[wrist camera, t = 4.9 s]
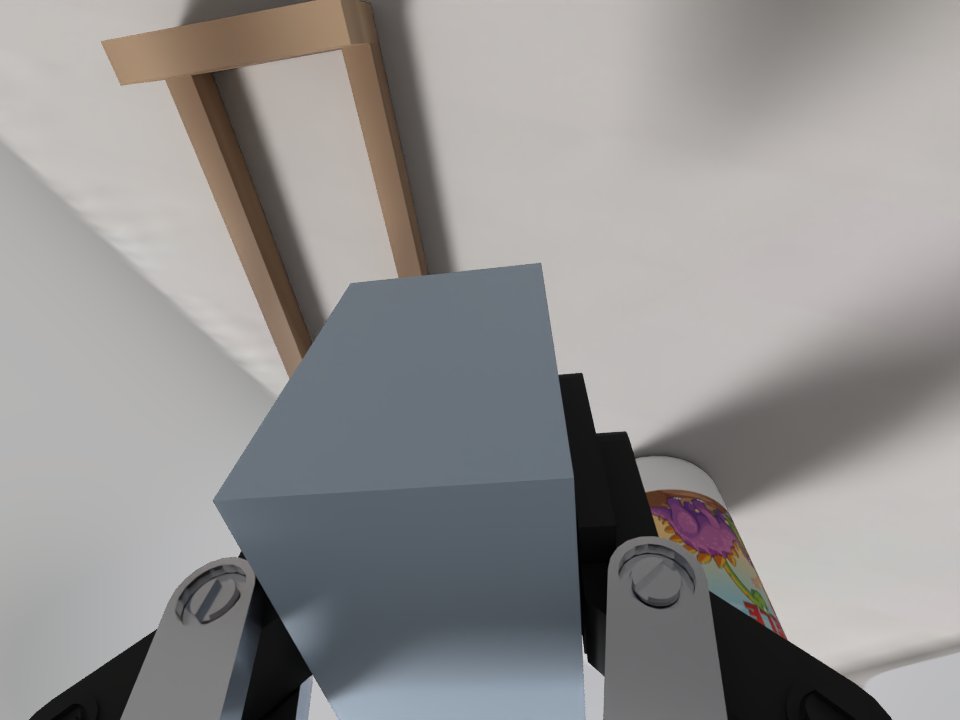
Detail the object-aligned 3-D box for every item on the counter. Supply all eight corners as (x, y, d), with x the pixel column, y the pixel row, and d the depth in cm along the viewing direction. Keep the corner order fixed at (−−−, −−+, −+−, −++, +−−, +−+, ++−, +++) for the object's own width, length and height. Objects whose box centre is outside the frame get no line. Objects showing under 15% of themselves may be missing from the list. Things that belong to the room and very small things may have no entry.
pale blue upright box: (541, 263, 10) (573, 477, 5) (558, 503, 14) (588, 767, 9) (350, 283, 11) (212, 500, 6) (415, 512, 14) (366, 768, 9)
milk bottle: (625, 557, 34) (746, 1083, 17) (557, 490, 31) (619, 1048, 14) (738, 508, 31) (1020, 1083, 14) (675, 429, 28) (935, 1040, 11)
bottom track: (370, 3, 18) (338, -5, 15) (480, 513, 32) (476, 569, 29) (172, 40, 19) (100, 41, 16) (362, 521, 33) (346, 576, 29)
